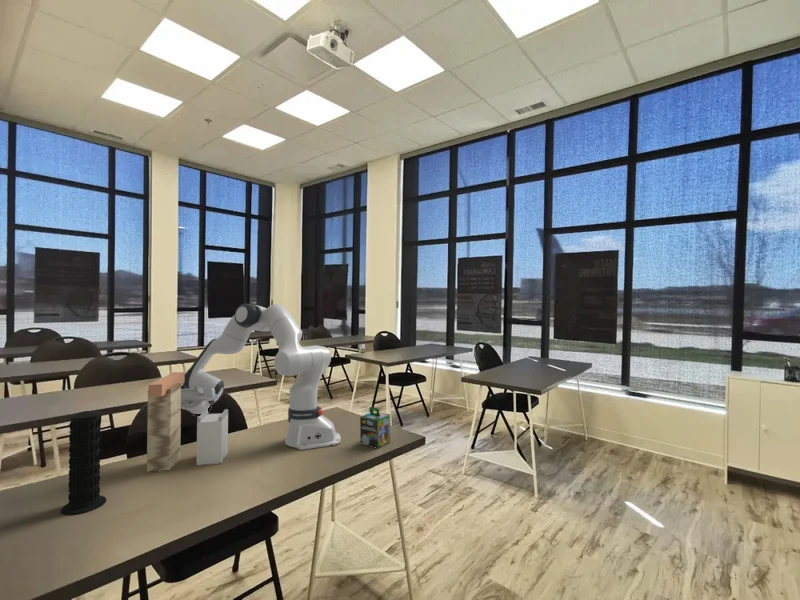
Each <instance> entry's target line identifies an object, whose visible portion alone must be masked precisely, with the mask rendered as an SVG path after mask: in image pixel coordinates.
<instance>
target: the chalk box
mask: <svg viewBox="0 0 800 600" xmlns="http://www.w3.org/2000/svg"><path fill="white" fill-rule="evenodd" d="M359 419H360V420H359V421H360V423H359V426H360V427H359V431H360V432H359V433H360V436H359V437H360V443H362V444H361V445H363V444H365V445H364V446H366V445H369V446H368V447H370V446H372V447H371V448H374V447H376V448H375V449H377V448H378V447H380V446H381V447H383V446H384V445H383V444H385V443H387V442H388V443H390V442H391V414H390V413H385V412H380V410H379V408H378V407H372V406H370V407H369V412H367V413H365V414H363V415H361V416H360V418H359ZM389 441H390V442H389ZM388 443H387V444H388ZM382 445H383V446H382ZM385 445H386V444H385ZM381 447H380V448H381ZM378 449H379V448H378Z"/></svg>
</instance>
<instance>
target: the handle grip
mask: <svg viewBox="0 0 800 600" xmlns="http://www.w3.org/2000/svg"><path fill="white" fill-rule="evenodd" d="M101 414H102V412H101V411H95V410H91V411H90V410H84V411H81V412H78V413H77V412H76V413H74V414H71V415H70V416H69V420H70V422H69V427H68V428H69V432H68V433H69V436H68V440H69V442H68V445H69V447H68V453H69V455H68V457H69V459H68V464H69V465H68V469H69V470H68V492H69V494H68V498H67V499H68V503H66V504H65V505H63V506H62V508H61V509H60V514H61V515H65V516H76V515H83V514H86V513H90V512H92V511H94V509H95V510H97V509H98V508H101V507H102V506H104V505H105V504H106V503H107V498H106V496H104V495H101V494H100V493H101V488H100V485H101V483H100V481H101V475H100V474H101V471H100V469H101V464H100V463H101V459H100V458H101V453H100V452H101V444H102V443H101V435H102V434H101V433H102V430H101V421H102V420H101ZM89 511H90V512H89Z"/></svg>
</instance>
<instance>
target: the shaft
mask: <svg viewBox="0 0 800 600" xmlns="http://www.w3.org/2000/svg"><path fill="white" fill-rule="evenodd" d="M185 373H186V372H180V371H179V372H171V373H169V374H168V375H165V376H164V377H161V378H159V379H158V380H155V381H153V382H151V383H149V384H148V389H147V398H148V397H161V396H163V395H165V394H167V393H168V389H169V388H171V387H173V386H174V385H176V384H178V383H181V385H183V383H184V381H185Z"/></svg>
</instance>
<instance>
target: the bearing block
mask: <svg viewBox="0 0 800 600" xmlns="http://www.w3.org/2000/svg"><path fill="white" fill-rule="evenodd" d="M181 389H182V384H181V383H178V384H176V385H174V386H173V387H171V388H169V389H168V393H167V394H165V395H163V396H161V397H148V396H147V439H146V440H147V441H146V472H147V471H158V472H162V471H161V470H170V469H171V468H172V467H173V468H174V467H175V465H176V464H177V463H178V462H179V461H180V460H181V432H182V431H181V429H182V427H181V424H182V422H181V421H182V419H181V418H182V415H181V414H182V413H181V412H182V411H181V410H182V408H181ZM179 459H180V460H179ZM178 460H179V461H178ZM177 461H178V462H177ZM176 462H177V463H176ZM175 463H176V464H175ZM173 468H172V469H173ZM172 469H171V470H172ZM159 470H160V471H159ZM171 470H170V471H171Z"/></svg>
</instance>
